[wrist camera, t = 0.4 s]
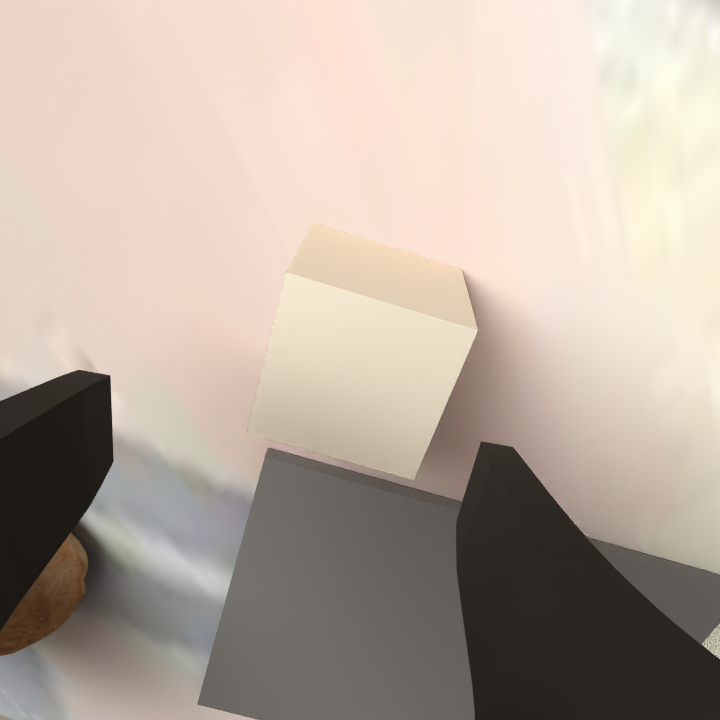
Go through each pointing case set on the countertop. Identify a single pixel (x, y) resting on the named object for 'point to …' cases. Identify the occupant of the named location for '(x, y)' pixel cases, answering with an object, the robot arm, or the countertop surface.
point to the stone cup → (48, 599)
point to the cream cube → (363, 352)
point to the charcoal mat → (372, 601)
